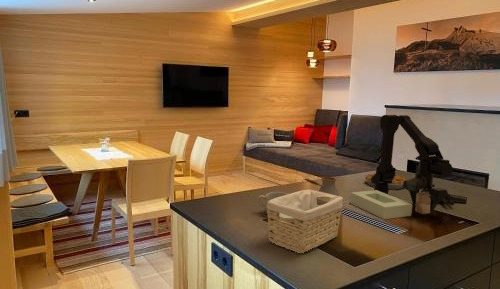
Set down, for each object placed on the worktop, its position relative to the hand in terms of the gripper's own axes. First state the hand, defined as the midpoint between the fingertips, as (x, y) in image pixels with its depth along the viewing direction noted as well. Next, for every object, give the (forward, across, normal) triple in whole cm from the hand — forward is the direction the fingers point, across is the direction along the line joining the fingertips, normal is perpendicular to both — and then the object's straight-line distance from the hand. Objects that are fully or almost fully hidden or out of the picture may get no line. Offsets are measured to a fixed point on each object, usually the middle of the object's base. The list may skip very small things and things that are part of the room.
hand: (422, 207), depth 155 cm
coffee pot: (+2, -17, -40) cm, 44 cm away
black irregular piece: (+2, -5, +19) cm, 20 cm away
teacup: (+2, -18, -61) cm, 64 cm away
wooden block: (+2, 0, 0) cm, 2 cm away
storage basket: (+2, +9, -62) cm, 63 cm away
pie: (+2, -42, +17) cm, 45 cm away
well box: (+2, -9, -15) cm, 18 cm away
